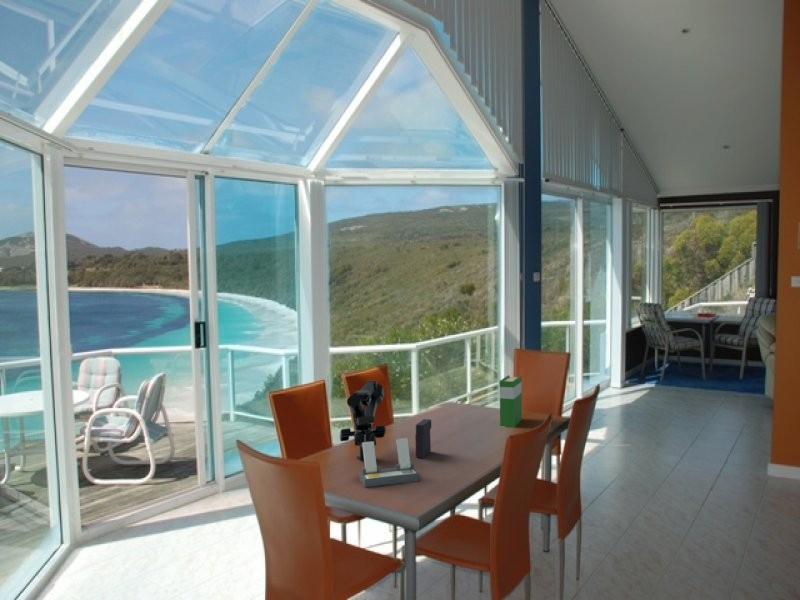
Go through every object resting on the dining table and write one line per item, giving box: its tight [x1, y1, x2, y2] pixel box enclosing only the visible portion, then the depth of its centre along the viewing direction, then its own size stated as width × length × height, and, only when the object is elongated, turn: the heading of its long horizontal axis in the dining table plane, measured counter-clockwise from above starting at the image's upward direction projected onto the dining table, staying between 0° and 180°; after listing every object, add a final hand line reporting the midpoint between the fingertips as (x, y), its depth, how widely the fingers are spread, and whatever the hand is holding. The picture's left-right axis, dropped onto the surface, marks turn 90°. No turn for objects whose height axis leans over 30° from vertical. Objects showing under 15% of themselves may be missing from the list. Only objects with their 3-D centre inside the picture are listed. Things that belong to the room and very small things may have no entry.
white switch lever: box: [362, 441, 378, 473], centre depth 253 cm, size 2×4×12 cm, turn 105°
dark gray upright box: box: [414, 418, 432, 459], centre depth 284 cm, size 11×4×15 cm, turn 159°
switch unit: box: [358, 461, 420, 488], centre depth 252 cm, size 10×22×5 cm, turn 106°
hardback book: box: [499, 374, 523, 428], centre depth 336 cm, size 18×7×24 cm, turn 156°
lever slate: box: [395, 437, 411, 469], centre depth 257 cm, size 2×4×12 cm, turn 105°
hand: (365, 451), depth 258 cm, fingers closed
